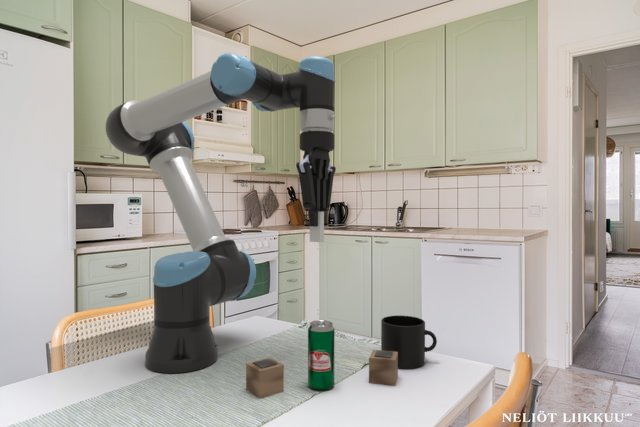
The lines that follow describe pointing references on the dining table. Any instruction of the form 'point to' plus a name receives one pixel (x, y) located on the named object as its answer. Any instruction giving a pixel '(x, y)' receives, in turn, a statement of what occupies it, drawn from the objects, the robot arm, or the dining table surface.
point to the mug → (406, 339)
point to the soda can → (321, 355)
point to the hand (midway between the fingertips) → (316, 241)
